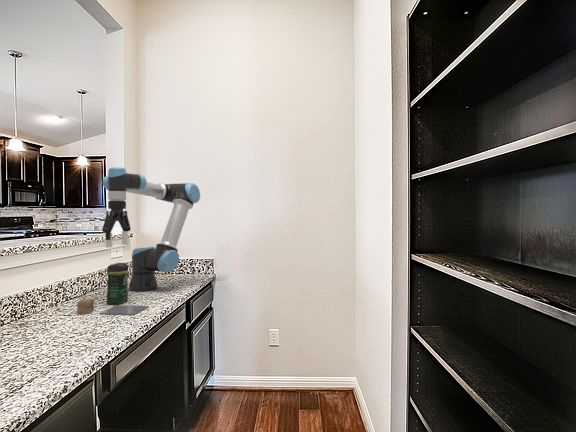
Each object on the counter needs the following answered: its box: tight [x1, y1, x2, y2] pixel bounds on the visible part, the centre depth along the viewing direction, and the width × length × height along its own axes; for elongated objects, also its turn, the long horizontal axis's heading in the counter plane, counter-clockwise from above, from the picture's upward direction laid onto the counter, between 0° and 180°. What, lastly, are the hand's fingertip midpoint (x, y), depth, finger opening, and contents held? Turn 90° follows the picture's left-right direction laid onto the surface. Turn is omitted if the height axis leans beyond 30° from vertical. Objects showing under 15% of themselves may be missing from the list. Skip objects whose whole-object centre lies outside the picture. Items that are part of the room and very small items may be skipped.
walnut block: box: [76, 298, 95, 316], centre depth 154 cm, size 5×5×5 cm
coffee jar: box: [106, 262, 129, 306], centre depth 171 cm, size 10×8×19 cm
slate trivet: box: [99, 304, 150, 316], centre depth 156 cm, size 13×15×1 cm
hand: (117, 245), depth 171 cm, fingers open, 13 cm apart
